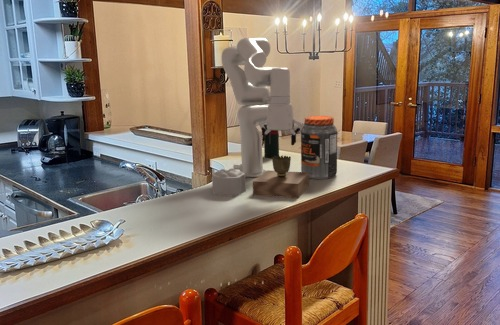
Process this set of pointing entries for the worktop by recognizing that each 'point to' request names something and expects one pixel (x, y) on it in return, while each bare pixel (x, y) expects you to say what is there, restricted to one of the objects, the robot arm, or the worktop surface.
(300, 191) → the walnut block
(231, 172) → the grey studded block
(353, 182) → the worktop surface
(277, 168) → the cup
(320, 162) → the supplement tub
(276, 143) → the wine bottle
